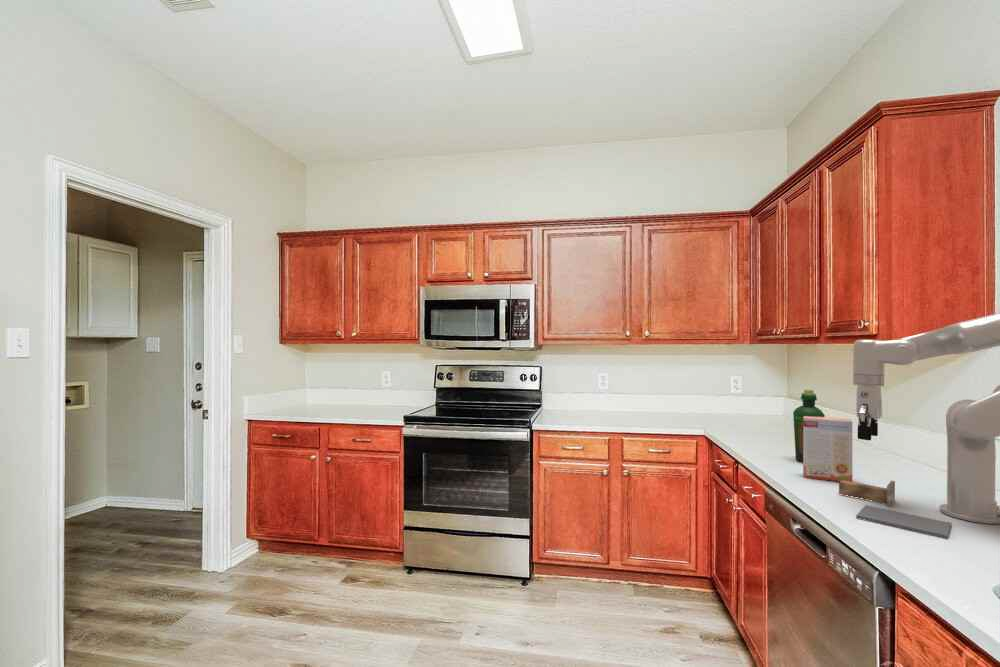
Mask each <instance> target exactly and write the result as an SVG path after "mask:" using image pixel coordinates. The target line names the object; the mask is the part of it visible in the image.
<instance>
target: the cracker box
mask: <svg viewBox="0 0 1000 667" xmlns="http://www.w3.org/2000/svg"><path fill="white" fill-rule="evenodd" d="M802 464H803V472H802V473H803V478H805V479H814V480H821V481H829V480H830V482H836V481H838V482H837V483H839V482H840V481H841V480H844V481H849V482H853V420H851V419H850V418H849V419H848V418H837V417H813V416H804V418H803V463H802Z"/></svg>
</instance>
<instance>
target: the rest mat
mask: <svg viewBox="0 0 1000 667" xmlns="http://www.w3.org/2000/svg"><path fill="white" fill-rule="evenodd" d="M855 517H856V519H857V518H861V519H860V520H862V519H865V520H864V521H866V520H869V521H868V522H870V521H873V522H872V523H875V522H876V523H875V524H879V523H880V525H884V526H889V527H892V526H893V528H897V529H903V530H906V531H911V532H915V533H919V534H924V535H929V536H933V537H937V538H941V539H946V540H948V537H949V536H950V535H949V534H950V531H951V528H952V522H949V521H943V520H940V519H934V518H930V517H924V516H919V515H916V514H910V513H906V512H902V511H896V510H891V509H886V508H881V507H877V506H873V505H872V506H871V505H867V504H865V505H864V506H863V507H862V508H861V509H860V511H859V512H858V513H857V514H856V515H855Z"/></svg>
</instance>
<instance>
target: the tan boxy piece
mask: <svg viewBox="0 0 1000 667" xmlns="http://www.w3.org/2000/svg"><path fill="white" fill-rule="evenodd" d="M895 487H896V482H895V480H890V481H889V483H888V484H887V485H886V487H881V486H876V485H870V484H864V483H859V482H855V481H854V482H853V481H852V482H849V481H844V480H841V481H840V482H838V495H839V494H842V495H841V496H843V495H848V496H853V497H858V498H863V499H868V500H872V501H875V502H874V503H877V502H880V503H879V504H882V503H885V504H884V505H886V508H891V507H892V506H891V505H894V503H895V502H896V497H895V496H896V488H895ZM848 496H847V497H848ZM853 497H852V498H853ZM872 501H871V502H872ZM894 501H895V502H894Z"/></svg>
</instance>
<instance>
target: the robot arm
mask: <svg viewBox="0 0 1000 667" xmlns="http://www.w3.org/2000/svg"><path fill="white" fill-rule="evenodd" d="M996 347H1000V312H998V313H994V314H993V313H992V314H990V315H985V316H981V317H977V318H973V319H968V320H964V321H960V322H957V323H953V324H949V325H946V326H943V327H941V328H938V329H934V330H930V331H927V332H923V333H918V334H915V335H911V336H906V337H902V338H898V339H892V340H880V339H857V340H855V341H854V343H853V347H852V348H853V350H852V351H853V352H852V353H853V354H852V356H853V360H852V361H853V363H852V369H853V370H852V373H853V375H852V385H854V386H856V406H855V407H856V409H855V410H856V417H857V418H858V422H857V439H858V440H863V441H864V440H865V441H872V437H873V436H874V437H877V436H879V435H878V433H879V422H878V419H880V418H882V417H883V408H882V407H883V405H882V404H883V402H882V389H881V387H885V365H886V364H890V365H897V366H908V365H912V364H913V363H915V362H917V361H918V362H919V361H922V360H926V359H931V358H935V357H942V356H946V355H960V354H967V353H974V352H978V351H981V350H989V349H993V348H996ZM945 426H946V439H947V440H946V445H947V447H946V448H947V451H946V452H947V454H946V457H947V458H946V503H942V504H940V505H939V507H938V508H939V511H940V512H942V513H943V514H944V515H947V516H950V517H952V518H956V519H960V520H964V521H968V522H972V523H973V522H974V523H981V524H991V525H996V524H1000V505H998V501H996V458H997V456H996V453H997V452H996V440H995V438H997V437H1000V384H998V385H997V386H996V387H995V388H994V390H993V391H992V393H990V394H988V395H986V396H983V397H982V398H978V399H976V400H974V399H962V400H958V401H954V403H952V404H951V405H950V406H949V407H948V409H947V411H946V414H945Z"/></svg>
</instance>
